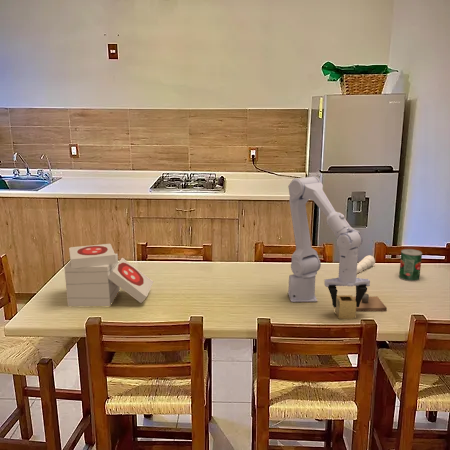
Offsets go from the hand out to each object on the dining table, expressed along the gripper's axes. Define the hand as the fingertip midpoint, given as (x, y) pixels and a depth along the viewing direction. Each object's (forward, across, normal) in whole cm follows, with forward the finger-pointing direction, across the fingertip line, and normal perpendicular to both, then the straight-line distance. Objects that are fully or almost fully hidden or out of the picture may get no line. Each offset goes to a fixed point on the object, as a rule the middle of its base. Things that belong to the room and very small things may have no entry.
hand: (345, 306), depth 162 cm
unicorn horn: (+4, +17, +43) cm, 46 cm away
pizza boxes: (+3, -82, +16) cm, 84 cm away
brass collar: (+3, 0, 0) cm, 3 cm away
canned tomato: (+3, +35, +35) cm, 50 cm away
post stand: (+3, +9, +8) cm, 12 cm away
